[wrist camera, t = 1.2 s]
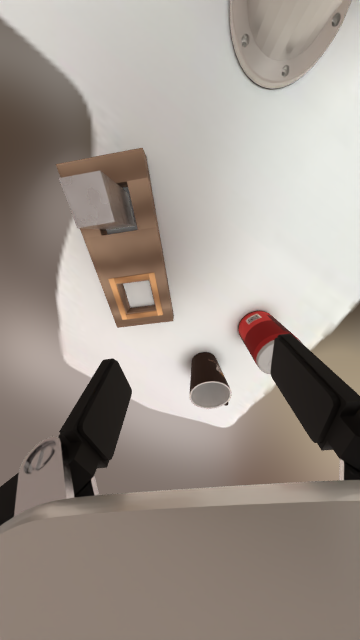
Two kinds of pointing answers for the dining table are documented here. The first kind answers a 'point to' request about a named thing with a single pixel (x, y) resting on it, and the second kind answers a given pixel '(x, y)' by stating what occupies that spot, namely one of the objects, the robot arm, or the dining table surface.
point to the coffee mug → (208, 382)
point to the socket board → (128, 240)
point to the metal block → (97, 201)
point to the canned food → (261, 337)
